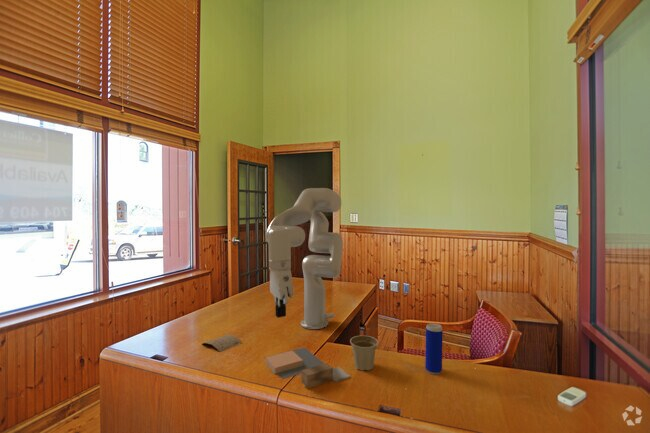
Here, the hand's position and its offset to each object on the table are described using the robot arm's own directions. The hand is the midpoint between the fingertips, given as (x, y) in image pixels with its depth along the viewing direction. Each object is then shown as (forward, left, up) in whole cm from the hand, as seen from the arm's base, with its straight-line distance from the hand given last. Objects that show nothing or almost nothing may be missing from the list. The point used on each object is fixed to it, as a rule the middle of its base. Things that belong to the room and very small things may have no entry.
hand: (280, 316), depth 109 cm
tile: (+1, 0, -14) cm, 14 cm away
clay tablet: (+15, -23, -16) cm, 32 cm away
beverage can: (-40, +32, -16) cm, 54 cm away
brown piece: (-7, +18, -16) cm, 25 cm away
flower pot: (-22, +18, -16) cm, 33 cm away
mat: (-3, +4, -16) cm, 16 cm away
